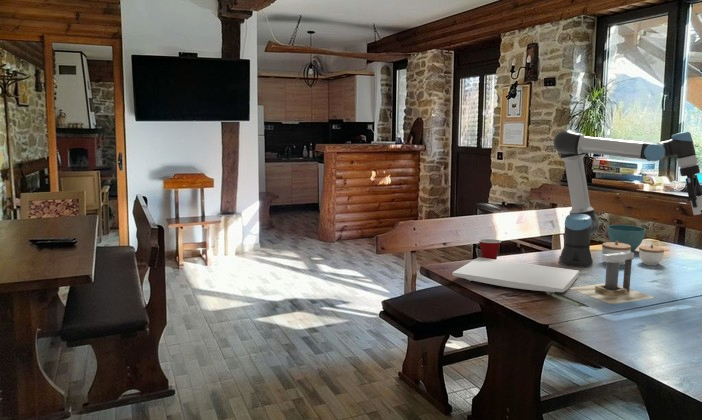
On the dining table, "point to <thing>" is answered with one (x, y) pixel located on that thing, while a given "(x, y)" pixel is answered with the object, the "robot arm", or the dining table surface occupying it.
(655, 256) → the lidded jar
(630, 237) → the plant pot
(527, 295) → the dining table surface
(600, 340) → the dining table surface
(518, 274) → the board
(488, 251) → the plastic cup
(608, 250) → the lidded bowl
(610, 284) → the peg
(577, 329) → the dining table surface
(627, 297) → the socket plate
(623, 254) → the latch
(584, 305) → the pad
